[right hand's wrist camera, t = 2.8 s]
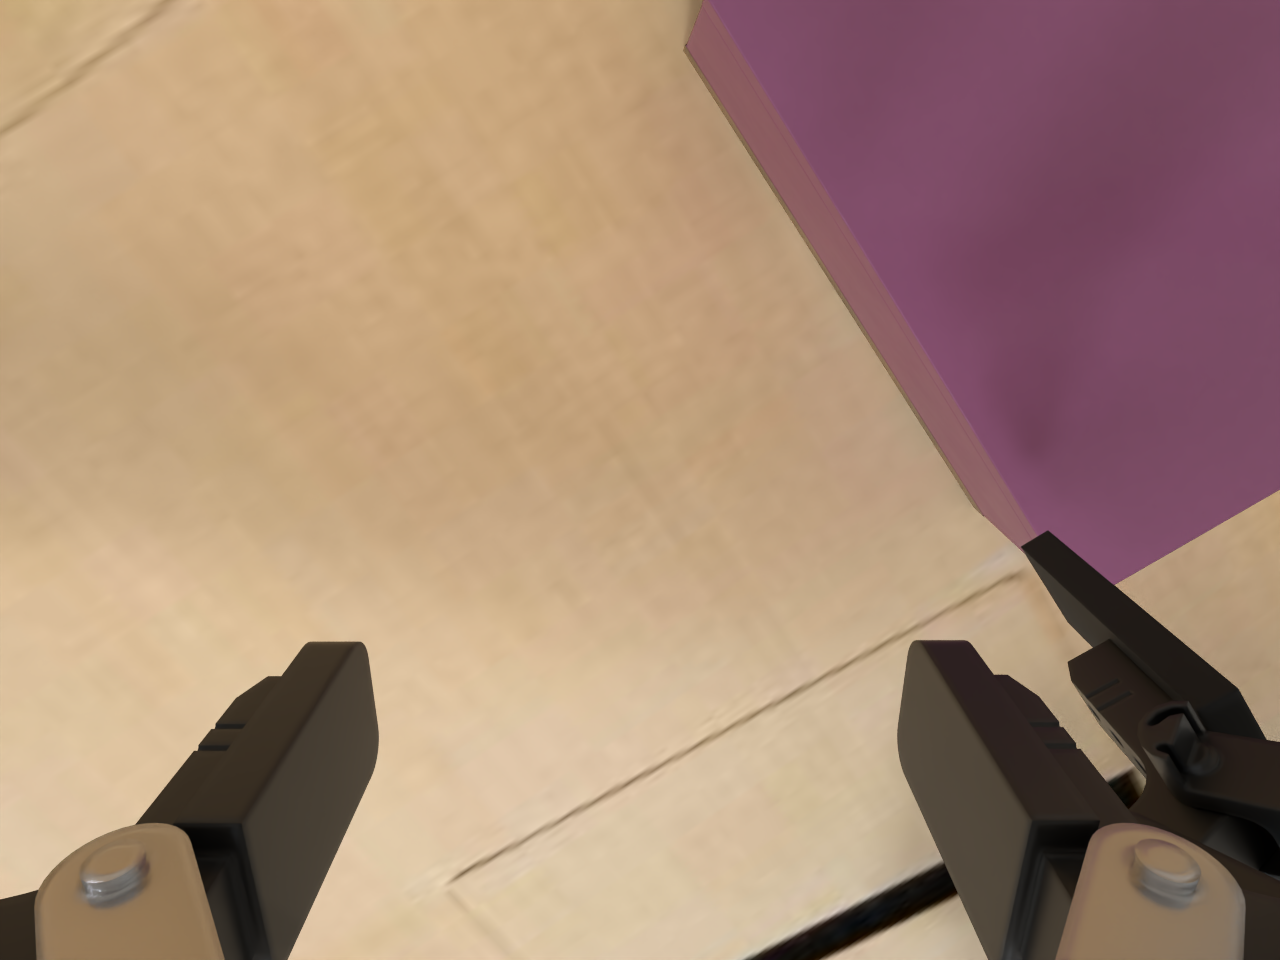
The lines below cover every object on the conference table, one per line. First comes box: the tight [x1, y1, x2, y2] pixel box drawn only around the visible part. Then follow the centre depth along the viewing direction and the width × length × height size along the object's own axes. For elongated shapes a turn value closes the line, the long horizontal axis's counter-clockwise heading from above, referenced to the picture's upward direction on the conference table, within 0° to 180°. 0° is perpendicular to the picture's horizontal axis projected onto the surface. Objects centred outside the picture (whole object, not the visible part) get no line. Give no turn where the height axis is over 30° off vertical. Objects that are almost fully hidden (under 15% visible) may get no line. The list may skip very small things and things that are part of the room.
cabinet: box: [683, 0, 1280, 585], centre depth 25 cm, size 21×12×8 cm, turn 36°
